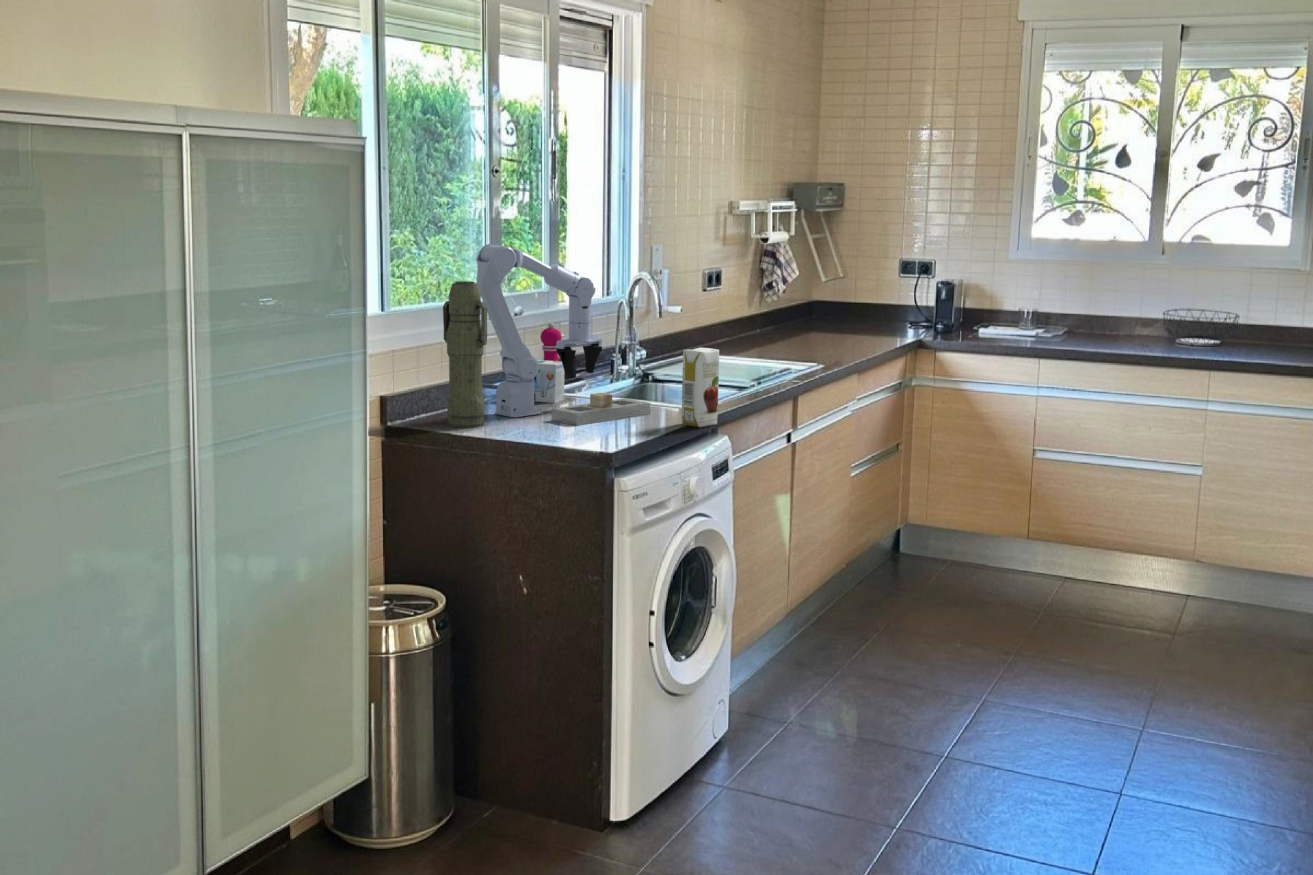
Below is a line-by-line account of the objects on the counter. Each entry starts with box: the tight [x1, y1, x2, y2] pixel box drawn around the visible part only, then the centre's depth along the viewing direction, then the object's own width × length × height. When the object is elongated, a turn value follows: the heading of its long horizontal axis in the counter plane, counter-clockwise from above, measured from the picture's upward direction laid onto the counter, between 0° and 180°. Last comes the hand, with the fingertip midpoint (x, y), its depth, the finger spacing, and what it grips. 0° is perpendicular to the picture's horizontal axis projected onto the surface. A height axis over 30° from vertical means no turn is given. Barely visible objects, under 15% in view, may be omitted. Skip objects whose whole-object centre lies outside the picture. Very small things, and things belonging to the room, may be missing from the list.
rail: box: [551, 397, 651, 427], centre depth 336 cm, size 26×10×3 cm, turn 136°
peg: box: [589, 392, 613, 408], centre depth 336 cm, size 4×4×6 cm
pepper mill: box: [540, 322, 563, 361], centre depth 373 cm, size 7×7×20 cm
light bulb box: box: [534, 359, 565, 404], centre depth 360 cm, size 11×7×11 cm, turn 73°
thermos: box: [442, 280, 488, 429], centre depth 319 cm, size 9×12×35 cm
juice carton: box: [681, 347, 720, 428], centre depth 327 cm, size 8×9×19 cm
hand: (579, 373), depth 346 cm, fingers open, 7 cm apart
